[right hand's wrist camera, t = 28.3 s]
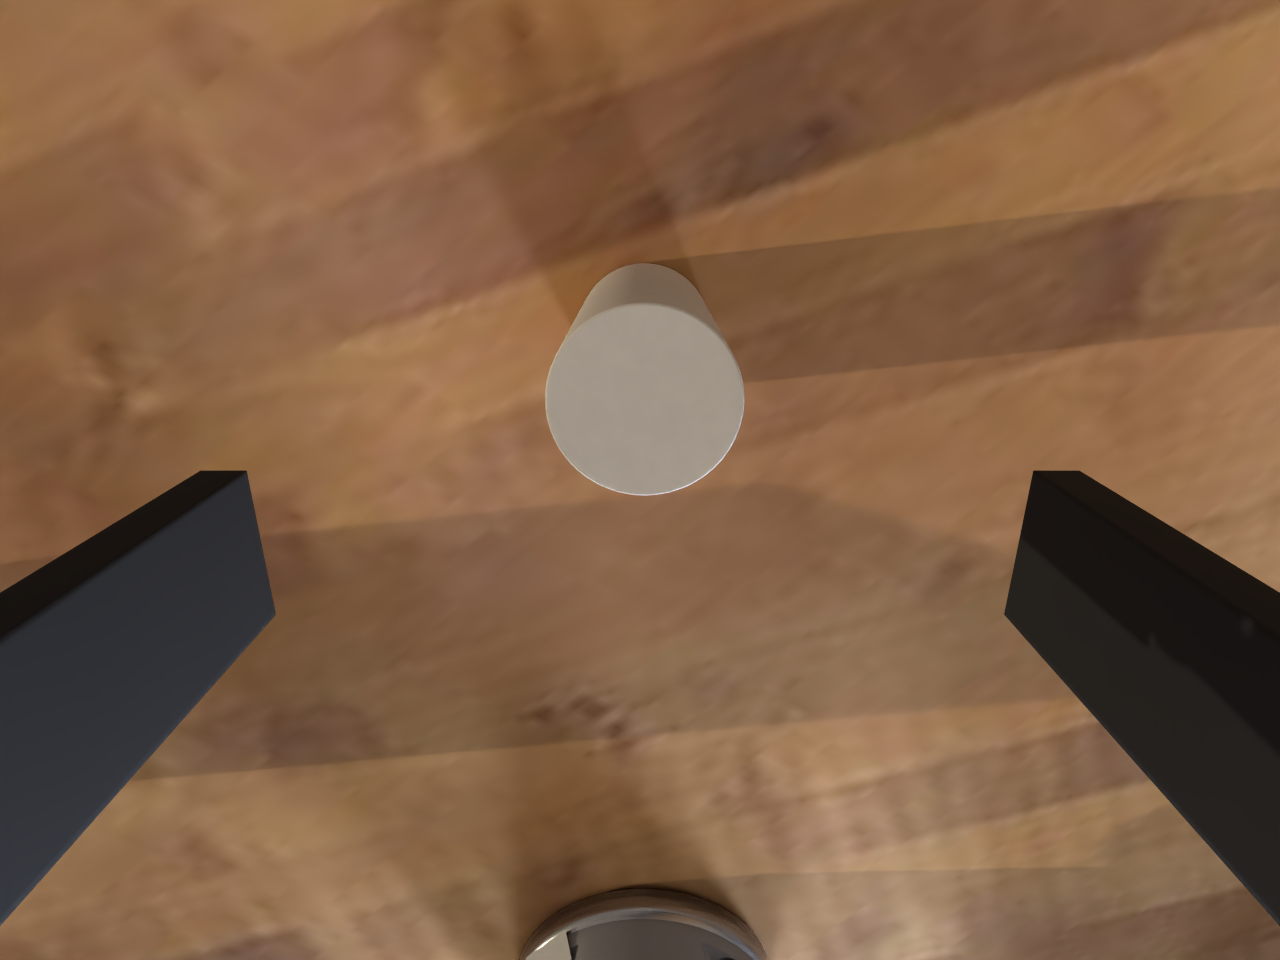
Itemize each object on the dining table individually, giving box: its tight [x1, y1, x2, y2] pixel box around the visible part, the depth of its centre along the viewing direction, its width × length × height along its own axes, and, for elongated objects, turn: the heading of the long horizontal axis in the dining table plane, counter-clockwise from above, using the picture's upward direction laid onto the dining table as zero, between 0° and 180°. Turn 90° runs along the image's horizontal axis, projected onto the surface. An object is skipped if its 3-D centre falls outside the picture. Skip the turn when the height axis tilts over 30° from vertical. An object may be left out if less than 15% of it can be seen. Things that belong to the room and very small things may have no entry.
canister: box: [545, 263, 744, 495], centre depth 25 cm, size 5×5×11 cm
